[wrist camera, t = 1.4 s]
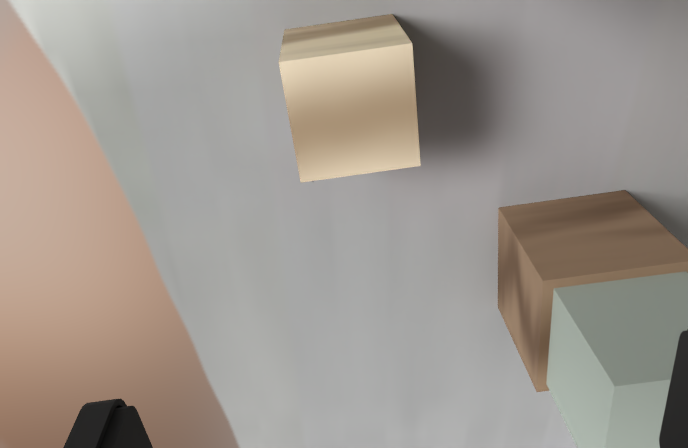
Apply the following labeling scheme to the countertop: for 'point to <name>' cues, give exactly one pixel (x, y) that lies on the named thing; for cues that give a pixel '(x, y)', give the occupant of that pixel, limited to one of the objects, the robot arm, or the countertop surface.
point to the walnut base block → (572, 260)
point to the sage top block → (616, 357)
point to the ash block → (350, 97)
